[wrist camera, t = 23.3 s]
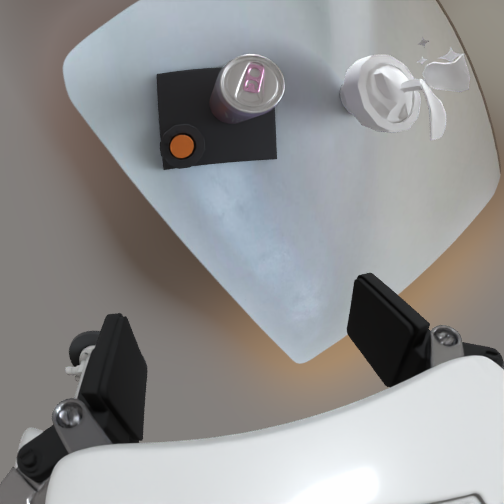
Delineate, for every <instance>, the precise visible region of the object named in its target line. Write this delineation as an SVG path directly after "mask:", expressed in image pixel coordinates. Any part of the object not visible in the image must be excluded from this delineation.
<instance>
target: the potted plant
mask: <svg viewBox="0 0 504 504" xmlns="http://www.w3.org/2000/svg"><path fill="white" fill-rule="evenodd" d="M427 42H429V41H426V40H424V39H423V37H422V41H421V42H420V43H419V44H421V45H423V46H424V48H425V44H426V43H427ZM464 55H465V54H459V53H455V52H454V51H453V50H452V48H451V47H450V51H449V52H448V53H447V54H446V55H444V56H442V57H439V58H441V59H446V60H448V61H449V62H448V63H440V62H432V63H430V64H428V65H426V66H425V69H424V72H423V74H422V75H423V77H424V79H425V80H422V79H415V78H414V77H413V75H412V74H411V73H410V71H409V70H408V68H407V67H406V66H405V64H403V63H402V62H400V61H399V60H397V59H395V58H394V57H392V56H390V55H371V56H368V57H365V58H362V59H359V60H357V61H356V62H355V63H354V64H353V65H352V66H351V67H350V68H349V69H348V70H347V71H346V74H345V80H344V83H343V84H342V85H341V90H340V98H341V101H342V105H343V106H344V107H345V108H346V109H347V111H348V112H349V113H351V114H353V115H354V116H355V117H356V118H357V120H358V121H359V122H360V123H361V125H363V126H366V127H368V128H371V129H373V130H375V131H377V132H390V133H395V132H400V131H405V130H409V129H410V127H411V126H412V125H413V124H414V122H415V121H416V120H417V118H418V116H419V110H420V103H421V98H420V94H419V90H422V91H423V93H424V95H425V98H426V102H427V105H428V109H429V119H430V140H435V139H439V138H441V137H442V135H443V133H444V131H445V129H446V112H445V110H444V107H443V104H442V102H441V101H440V100H439V99H438V98H437V97H436V96H435V95H434V94H433V92H432V91H431V89H430V87H429V86H431V87H432V88H434V89H439V90H448V91H455V92H463V91H466V90H469V83H470V75H469V71H468V68H467V64H466V61H465V58H464ZM458 56H460V57H459V58H458V59H457V60H456V61H454V62H452V61H453V60H454V59H455V58H456V57H458ZM426 60H428V59H424V58H423V56H422V58H421V60H419V61H417V62H419V63H421V65H422V64H423V62H424V61H426Z"/></svg>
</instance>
